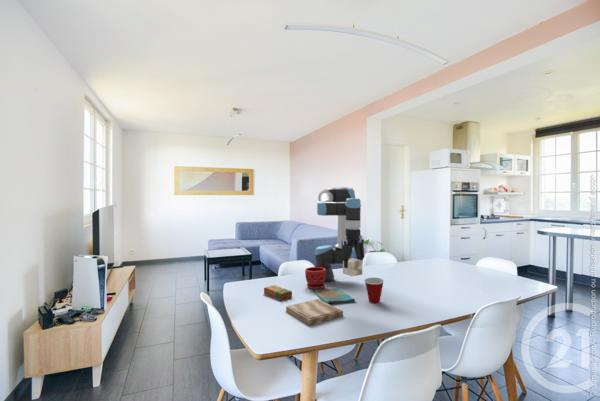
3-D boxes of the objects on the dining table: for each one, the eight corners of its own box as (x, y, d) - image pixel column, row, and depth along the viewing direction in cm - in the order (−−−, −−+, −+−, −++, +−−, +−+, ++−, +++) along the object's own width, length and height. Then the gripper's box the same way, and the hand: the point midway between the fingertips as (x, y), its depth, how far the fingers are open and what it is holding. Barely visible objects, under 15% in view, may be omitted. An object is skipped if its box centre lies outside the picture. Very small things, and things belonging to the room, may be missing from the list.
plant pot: (325, 284, 193) (325, 266, 192) (325, 291, 179) (325, 271, 179) (305, 284, 194) (306, 266, 194) (304, 290, 181) (304, 270, 181)
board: (318, 303, 158) (318, 298, 158) (343, 316, 141) (343, 310, 141) (286, 311, 147) (286, 305, 147) (309, 325, 130) (309, 319, 130)
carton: (274, 291, 179) (274, 284, 179) (292, 298, 168) (292, 290, 168) (263, 294, 173) (263, 287, 173) (281, 301, 162) (281, 293, 162)
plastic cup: (359, 299, 164) (359, 278, 164) (375, 297, 169) (375, 276, 169) (372, 306, 154) (372, 283, 154) (388, 303, 159) (388, 281, 159)
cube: (352, 271, 155) (352, 258, 155) (362, 274, 149) (362, 260, 149) (342, 273, 151) (342, 259, 151) (352, 276, 145) (352, 262, 145)
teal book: (326, 306, 155) (326, 301, 155) (312, 292, 178) (312, 288, 178) (355, 303, 160) (356, 298, 160) (338, 290, 182) (338, 286, 182)
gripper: (361, 226, 158) (361, 269, 159) (333, 228, 147) (332, 274, 148) (372, 228, 152) (371, 272, 152) (343, 230, 141) (342, 277, 141)
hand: (352, 273), depth 150 cm, fingers closed on cube, 7 cm apart
